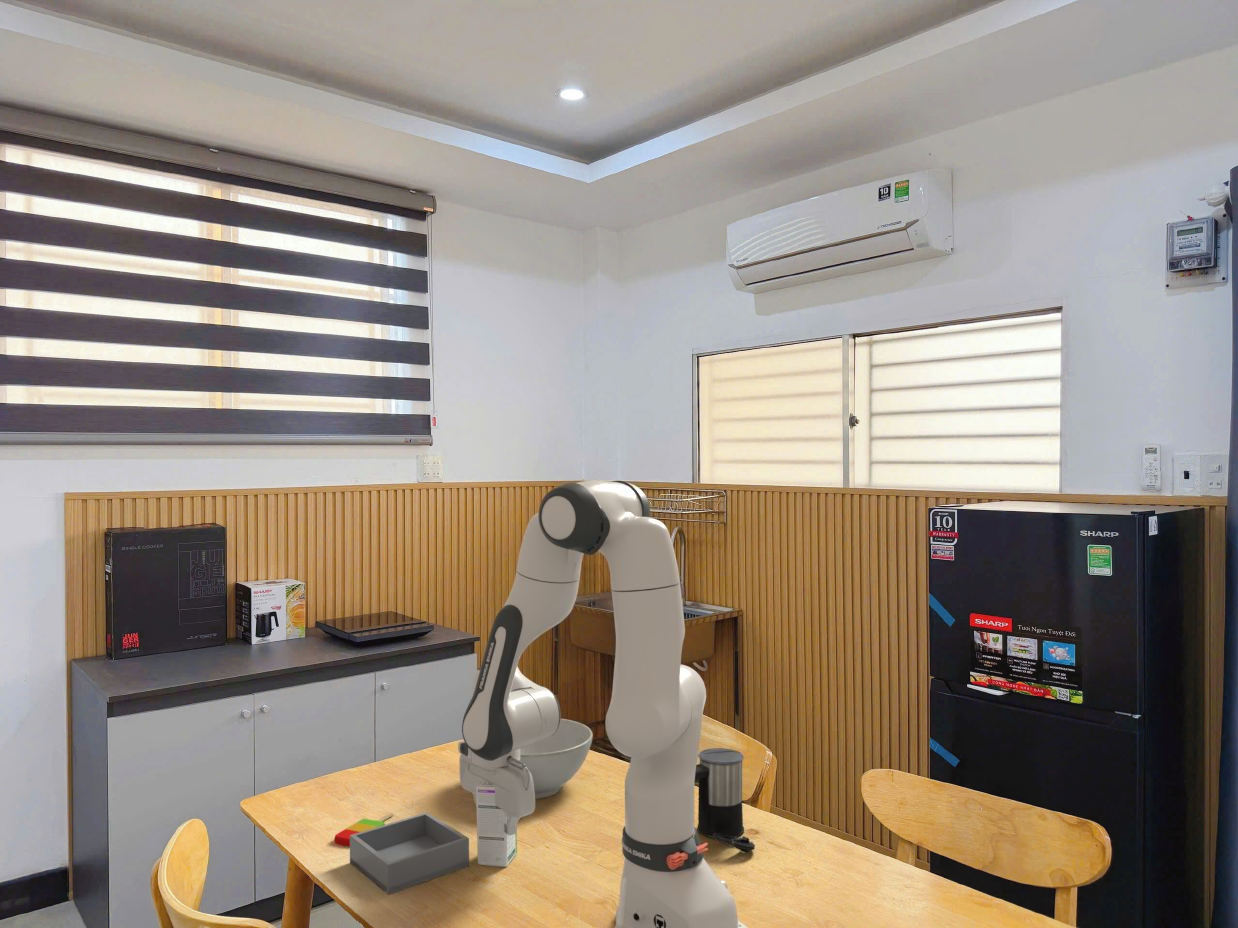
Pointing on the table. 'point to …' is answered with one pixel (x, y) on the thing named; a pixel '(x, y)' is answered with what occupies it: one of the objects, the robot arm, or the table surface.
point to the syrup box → (492, 830)
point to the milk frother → (721, 797)
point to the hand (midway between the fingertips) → (496, 825)
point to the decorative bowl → (557, 757)
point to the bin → (408, 852)
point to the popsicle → (358, 829)
